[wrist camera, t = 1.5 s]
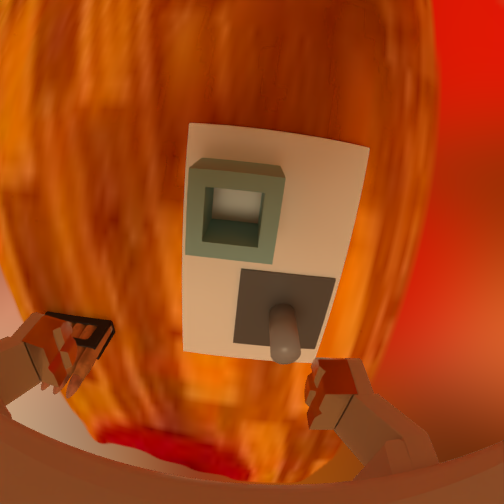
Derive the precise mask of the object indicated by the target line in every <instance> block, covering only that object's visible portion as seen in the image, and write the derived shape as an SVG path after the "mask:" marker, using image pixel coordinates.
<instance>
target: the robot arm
mask: <svg viewBox="0 0 504 504" xmlns="http://www.w3.org/2000/svg"><path fill="white" fill-rule="evenodd" d="M72 332H73V330H72V327H71V323H69V322H68V321H65V320H61V319H58V318H54V317H51V316H48V315H44V314H41V313H38V312H35V313H32V314H31V315H30V317H29V318H28V319H27V320H26V321H25V322H24V323H23V324H22V325H21V326H20V327H19V329H18V330H17V331H16V332H15V333H14V334H13V336H11V337H5V338H3V339H1V340H0V504H504V440H503V441H501V442H499V443H497V444H494V445H492V446H489V447H486V448H484V449H481V450H479V451H476V452H473V453H470V454H468V455H465V456H462V457H459V458H456V459H452V460H449V461H446V462H443V463H439V461H438V459H437V456H436V453H435V451H434V448H433V445H432V443H431V441H430V438H429V435H428V433H427V432H426V431H424V430H423V429H422V428H420V427H419V426H418V425H417V424H415V423H414V422H413V421H411V420H410V419H409V418H407V417H406V416H405V415H404V414H403V413H401V412H400V411H399V410H398V409H396V408H395V407H394V406H393V405H391V404H390V403H389V402H387V401H386V400H385V399H384V398H383V397H381V396H380V395H379V394H374V392H373V390H372V387H371V384H370V381H369V379H368V376H367V373H366V371H365V368H364V365H363V363H362V360H361V359H360V358H345V359H344V358H315V359H314V360H313V362H312V365H311V368H312V373H311V374H310V375H308V377H307V380H306V384H305V403H306V404H307V405H308V406H309V409H308V412H307V418H308V425H309V429H318V430H332V429H335V430H334V431H335V432H336V433H337V435H338V436H339V437H340V438H341V439H342V441H343V442H344V443H345V444H346V445H347V446H348V448H349V449H350V450H351V451H352V452H353V453H354V455H355V456H356V457H357V458H358V459H359V460H360V462H361V463H362V464H363V465H364V466H365V467H364V468H363V469H362V470H361V471H360V473H359V474H358V475H357V476H356V477H355V478H354V479H353V481H346V482H336V483H323V484H303V485H262V484H243V483H229V482H220V481H210V480H203V479H196V478H189V477H184V476H178V475H172V474H167V473H162V472H157V471H153V470H148V469H144V468H140V467H135V466H132V465H128V464H124V463H120V462H117V461H114V460H110V459H107V458H104V457H101V456H97V455H95V454H92V453H89V452H86V451H83V450H80V449H78V448H75V447H72V446H70V445H67V444H64V443H62V442H60V441H57V440H55V439H52V438H50V437H48V436H45V435H43V434H41V433H39V432H37V431H35V430H32V429H30V428H28V427H26V426H24V425H22V424H20V423H18V422H16V421H14V420H12V417H11V414H10V412H9V411H8V409H7V408H6V405H7V404H9V403H10V402H12V401H13V400H15V399H16V398H18V397H19V396H21V395H22V394H24V393H25V392H27V391H28V390H30V389H31V388H33V387H34V386H36V385H37V384H39V383H40V381H42V382H44V383H47V384H50V385H53V386H56V387H60V386H61V384H62V382H63V380H64V379H65V377H66V376H67V372H66V369H67V368H69V367H71V366H73V364H74V362H75V360H76V356H77V344H76V341H75V340H74V338H73V337H72V336H71V334H72Z"/></svg>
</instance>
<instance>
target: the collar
mask: <svg viewBox="0 0 504 504" xmlns="http://www.w3.org/2000/svg"><path fill="white" fill-rule="evenodd" d="M285 180H286V178H285V175H284V173H283V171H282V169H281V166H278V165H270V164H262V163H253V162H244V161H235V160H225V159H214V158H201V159H199V160H198V161H197V162H196V163H194V164H193V165H192V166H191V167H189V172H188V189H187V210H186V238H185V255H191V256H199V257H208V258H217V259H226V260H235V261H244V262H253V263H262V264H271V265H272V263H273V257H274V251H275V245H276V238H277V232H278V226H279V219H280V213H281V206H282V200H283V193H284V186H285ZM214 188H223V189H232V190H242V191H251V192H259V193H262V195H261V203H260V211H259V219H258V224H257V223H249V222H240V221H230V220H221V219H212V205H213V192H214Z"/></svg>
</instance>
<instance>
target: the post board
mask: <svg viewBox="0 0 504 504" xmlns="http://www.w3.org/2000/svg"><path fill="white" fill-rule="evenodd" d="M369 151H370V148H368V147H365V146H361V145H357V144H352V143H347V142H342V141H337V140H332V139H327V138H321V137H316V136H310V135H304V134H297V133H291V132H284V131H276V130H269V129H261V128H252V127H242V126H232V125H220V124H207V123H189V130H188V142H187V155H186V170H185V188H184V209H183V242H182V323H183V351H188V352H195V353H202V354H210V355H218V356H227V357H236V358H246V359H257V360H270V361H275V362H277V363H279V364H290V363H293V362H302V363H312V362H313V360H314V359H315V357H316V354H317V351H318V348H319V346H320V343H321V340H322V336H323V333H324V330H325V327H326V324H327V321H328V318H329V315H330V311H331V308H332V305H333V301H334V298H335V295H336V291H337V288H338V284H339V281H340V277H341V274H342V270H343V266H344V263H345V259H346V255H347V251H348V247H349V244H350V240H351V236H352V231H353V227H354V223H355V219H356V215H357V210H358V206H359V201H360V197H361V192H362V187H363V182H364V177H365V172H366V167H367V162H368V157H369ZM201 158H214V159H225V160H235V161H244V162H253V163H262V164H270V165H278V166H281V169H282V171H283V173H284V175H285V178H286V180H285V186H284V193H283V200H282V206H281V213H280V219H279V226H278V232H277V238H276V245H275V251H274V257H273V263H272V265H271V264H262V263H253V262H244V261H235V260H226V259H217V258H208V257H199V256H191V255H185V238H186V210H187V189H188V172H189V167H191V166H192V165H193V164H194V163H196V162H197V161H198V160H199V159H201ZM261 195H262V193H259V192H251V191H242V190H232V189H223V188H214V192H213V205H212V219H221V220H230V221H240V222H249V223H257V224H258V219H259V211H260V203H261Z"/></svg>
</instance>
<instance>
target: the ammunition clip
mask: <svg viewBox="0 0 504 504" xmlns="http://www.w3.org/2000/svg"><path fill="white" fill-rule="evenodd" d="M45 315H48V316H51V317H54V318H58V319H61V320H65V321H68V322H69V323H71V327H72V330H73V332H72V334H71V336H72V337H73V338H74V340H75V341H76V344H77V356H76V360H75V362H74V364H73V366H71V367H69V368H67V369H66V372H67V376H66V377H65V379H64V380H63V382H62V384H61V386H60V387H56V386H54V389H53V394H57V393H58V392H59V391H60V390H61V389H62V388H63V387H64V386H65V384H66V383H67V381H68V379H69V378H70V377H71V375H72V374H73V375H72V377H71V379H70V381H69V384H68V387H67V392H66V397H67V398H69V397H71V396H72V395H73V394H74V393H75V392H76V391H77V389H78V388H79V386H80V385H81V383H82V381H83V380H84V378H85V377H86V375H87V374H88V373H89V372H90V370H91V368H92V366H93V364H94V363H95V361H96V359H99V358H100V357H101V355H102V353H103V352H104V350H105V348H106V347H107V345H108V343H109V342H110V340H111V338H112V337H113V335H114V333H115V331H114V327H113V324H112V321H111V320H102V319H94V318H87V317H80V316H73V315H66V314H60V313H53V312H46V314H45ZM49 385H50V384H47V383H44V382H42V384H41V390H45V389H46V388H47V387H48V386H49Z"/></svg>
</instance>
